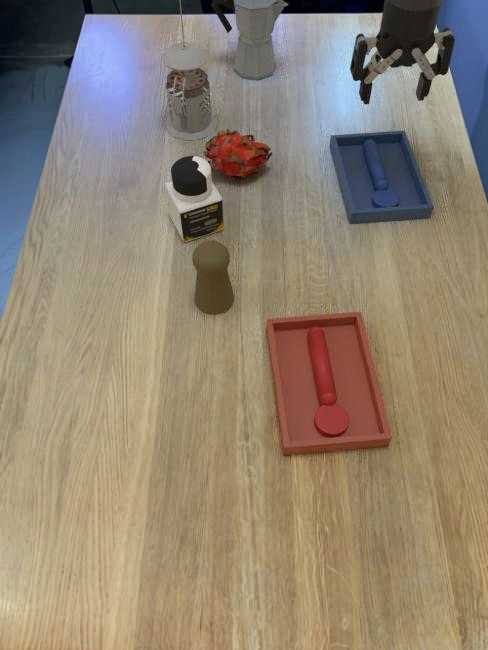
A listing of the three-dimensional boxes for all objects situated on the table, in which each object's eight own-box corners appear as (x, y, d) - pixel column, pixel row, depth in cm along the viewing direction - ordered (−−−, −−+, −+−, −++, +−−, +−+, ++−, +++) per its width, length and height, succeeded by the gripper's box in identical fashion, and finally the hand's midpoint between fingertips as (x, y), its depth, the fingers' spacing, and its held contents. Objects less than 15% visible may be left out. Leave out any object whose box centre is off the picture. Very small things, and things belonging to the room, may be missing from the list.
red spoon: (298, 333, 86) (299, 324, 84) (328, 331, 87) (330, 321, 85) (316, 439, 77) (318, 431, 75) (350, 436, 77) (353, 428, 75)
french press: (221, 110, 116) (215, -25, 96) (209, 149, 110) (200, 14, 89) (172, 105, 117) (156, -30, 97) (157, 143, 111) (136, 8, 90)
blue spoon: (355, 148, 109) (357, 137, 107) (379, 146, 109) (381, 135, 107) (374, 213, 100) (377, 202, 98) (400, 211, 100) (403, 200, 98)
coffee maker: (288, 59, 126) (294, -31, 111) (280, 84, 121) (284, -7, 106) (220, 51, 128) (216, -39, 113) (209, 74, 123) (203, -16, 108)
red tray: (358, 321, 88) (360, 311, 86) (388, 446, 77) (391, 438, 75) (266, 328, 87) (266, 318, 85) (283, 455, 76) (284, 447, 74)
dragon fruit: (200, 174, 108) (265, 181, 110) (200, 179, 100) (271, 187, 102) (204, 125, 106) (271, 133, 107) (205, 126, 98) (278, 135, 99)
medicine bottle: (183, 243, 97) (176, 188, 87) (168, 214, 101) (159, 158, 91) (224, 230, 98) (221, 174, 89) (208, 202, 102) (203, 145, 92)
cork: (206, 277, 93) (201, 228, 84) (241, 291, 91) (240, 242, 82) (187, 305, 90) (180, 257, 81) (222, 320, 88) (219, 273, 79)
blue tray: (402, 141, 111) (405, 130, 109) (430, 218, 100) (434, 207, 98) (329, 146, 110) (330, 135, 108) (349, 224, 99) (351, 213, 97)
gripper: (367, 11, 78) (351, 117, 91) (475, 4, 78) (444, 111, 92) (356, -18, 82) (343, 88, 96) (459, -24, 83) (431, 82, 96)
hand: (392, 99), depth 94 cm, fingers open, 8 cm apart
